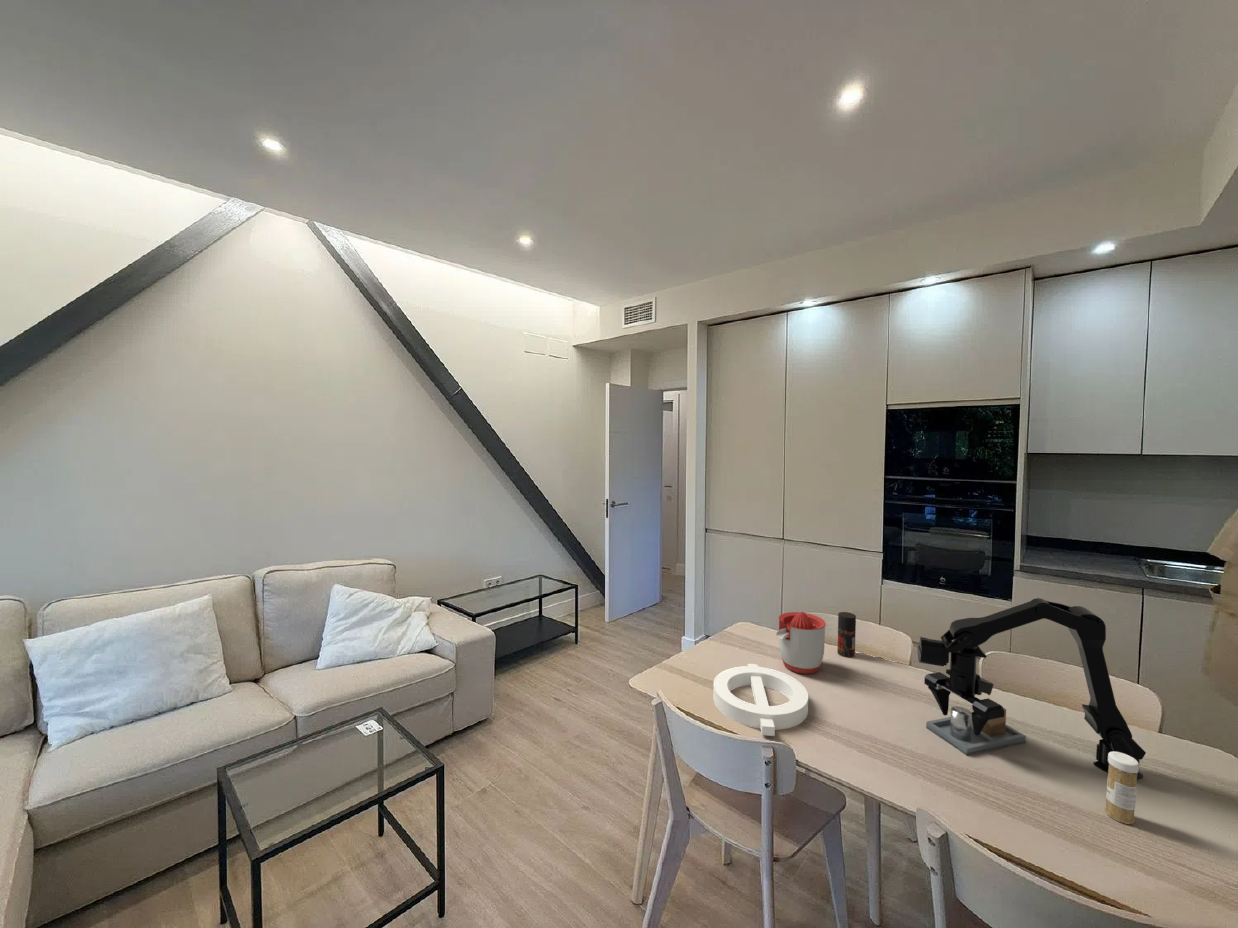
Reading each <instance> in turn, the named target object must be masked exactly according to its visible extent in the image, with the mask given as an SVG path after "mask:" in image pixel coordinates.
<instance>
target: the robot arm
mask: <svg viewBox="0 0 1238 928" xmlns="http://www.w3.org/2000/svg"><path fill="white" fill-rule="evenodd" d="M1045 619H1046V620H1049V621H1051V622H1053V623H1056V624H1059V625H1062V626H1063V627H1066V628H1067V629H1068V631H1069V632H1070V635H1071V636H1072V637H1073V639H1074V642H1075V643H1076V644H1077V647H1078V648H1077V649H1078V652H1079V657H1080V660H1081V664H1082V665H1081V666H1082V669H1083V672H1084V677H1085V681H1086V685H1087V689H1088V693H1089V698H1090V699H1089V703H1088V704H1081V707H1082V709H1083V712H1084V718H1083V719H1084V720H1085V721H1086V722H1087V724H1088V725H1089V726H1090V727H1091V728H1092V730H1093V731H1094V733H1096V734H1098V736H1100V739H1099V741H1098V744H1097V743H1096V751H1095V752H1096V753H1095V760H1096V761H1093V765H1094V767H1097V768H1099V769H1101V770H1102V771H1104V772H1106V773H1108V770H1109V762H1108V754H1109V752H1120V753H1124V754H1126V755H1129V756H1131V757H1133V758H1134V759H1135V760H1137V761H1138V763H1139V764H1140V762H1141V761H1140V760H1143V758H1144V757H1145V755H1146V753H1147V752H1146V751H1145V750H1144V749H1143V747H1141V746H1140V745H1139V743H1137V742H1136V740H1134V739H1133V734H1132V732H1131V730H1130V728H1129V725H1128V723H1127V722H1126V719H1125V718H1124V716H1123V715H1122V713H1121V711H1120V710H1119V708H1118V706H1117V703H1116V699H1115V695H1114V690H1113V687H1112V682H1111V678H1110V675H1109V669H1108V665H1107V662H1106V657H1105V654H1104V645H1105V642H1106V640H1107V627H1106V624H1105V621H1104V620H1103V619H1102V618H1101V617H1099V616H1098V615H1096V613H1094V612H1092V611H1090V610H1089V609H1087V608H1086V607H1084V606H1081V605H1074V606H1069V605H1066V604H1062V603H1058V602H1053V601H1050V600H1049V601H1048V600H1045V599H1043V598H1039V597H1037V598H1033V599H1031V600H1030V601H1027V602H1024V603H1021V604H1018V605H1015V606H1013V607H1010V608H1006V609H1004V610H1001V611H998V612H995V613H992V614H989V615H986V616H983V617H982V616H981V617H967V618H962V619H956V620H954V621H952V622H951V623H950V625H949V629H948V630H947V631H946V632H944V634H943V635H941V636H940V640H939V639H934V638H933V639H931V638H928V637H923V636H920V637H919V641H918V645H917V659H918V662H919V663H920V664H925V665H926V664H927V665H933V666H938V667H944V666H946V667H947V665H948V664H949V668H947V669H945V673H946V674H947V675H946V674H944V673H942V672H940V671H939V672H932V673H927V674H926V675H925V676H924V680H923V681H924V682H923V683H924V685H926V686H927V688H928V690H930V691H931V693H932V696H933V698H934V699H935V701H936V703H937V705H938V706H939V709H940V710H941V713H942V715H943V716H948V713H949V704H950V694H951V693H952V694H954V695H955V696H957V697H958V698H961V699H962V700H965V702H969V703H970V704H972V705H971V706H972V707H971V709H972V710H973V711H970V712H971V715H972V722H973V729H974V733H975V735H976V736H977V735H979V734H980V733H981V731H982V729H983V728H984V726H985V724H986V723H987V721H988V720H991V719H996V718H1001V717H1004V708H1005V707H1003V705H1001V704H999V703H997V702H996V701H994V700H992V699H990V698H989V697H988V698H983V699H980V698H978V697H976V696H981V695H982V693H983V694H985V695H986V694H987V695H988V696H991V694H992V691H993V689H994V683H993V682H990V681H989V680H986V679H984V678H983V677H981V676H980V675H979V674H978V673H977V659H978V658H983V659H987V655H986V653H985V652H984V650H983V649H982V648H980V645H982V644H985V643H987V641H989V639H991V638H992V637H994V636H995V635H997V634H1000V633H1004V632H1007V631H1010V630H1014V629H1016V628H1019V627H1023V626H1025V625H1028V624H1031V623H1035V622H1037V621H1040V620H1045ZM948 675H949V676H948ZM1142 778H1144V775H1143V774H1142V773H1141V772H1140V770H1139V771H1138V774H1137V780H1138V779H1142Z"/></svg>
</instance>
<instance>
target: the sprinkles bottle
mask: <svg viewBox="0 0 1238 928" xmlns="http://www.w3.org/2000/svg"><path fill="white" fill-rule="evenodd" d="M1108 762H1109V770H1108V772H1107V780H1106V781H1107V782H1106V793H1105V794H1106V795H1105V796H1106V800H1105V807H1104V812H1105V813H1106V814H1107V815H1108V817H1110V818H1111V819H1113V820H1115V821H1117V822H1119V823H1122V824H1126V825H1134V823H1135V821H1136V820H1135V809H1136V801H1137V788H1138V787H1137V786H1138V785H1137V784H1138V783H1137V781H1138V779H1137V774H1138V771H1139V772H1140V762H1139V763H1138V761H1137V760H1135V759H1134V758H1133V757H1131V756H1129V755H1126V754H1124V753H1120V752H1109V754H1108Z"/></svg>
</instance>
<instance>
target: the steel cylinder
mask: <svg viewBox="0 0 1238 928" xmlns="http://www.w3.org/2000/svg"><path fill="white" fill-rule="evenodd" d="M971 712H972V711H971V710H969V709H968V708H965V707H962V706H957V705H954V706H951V708H950V717H951V725H950V734H951V736H953V737H954V738H956V739H958V740H961V741H970V740H971V725H972V715H971Z"/></svg>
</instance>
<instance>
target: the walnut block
mask: <svg viewBox="0 0 1238 928" xmlns="http://www.w3.org/2000/svg"><path fill="white" fill-rule="evenodd" d="M1003 708H1004V717H1001V718H996V719H991V720H988V721H987V723H986V724H985V726H984V728H983V729H982V732H984V733H985V734H987V735H988V736H990V737H993V736H998V735H1003V734H1005V726H1006V725H1007V723H1006V721H1007V709H1006V708H1005V707H1003Z"/></svg>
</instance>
